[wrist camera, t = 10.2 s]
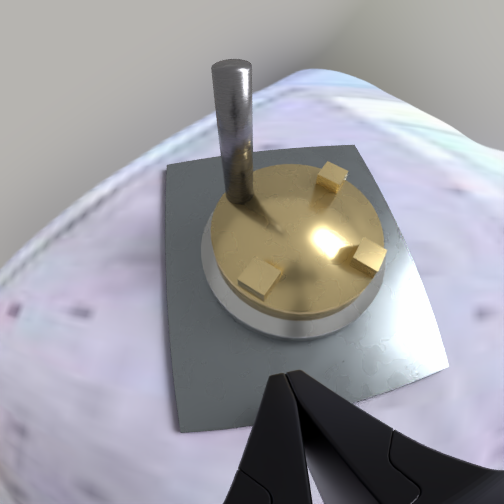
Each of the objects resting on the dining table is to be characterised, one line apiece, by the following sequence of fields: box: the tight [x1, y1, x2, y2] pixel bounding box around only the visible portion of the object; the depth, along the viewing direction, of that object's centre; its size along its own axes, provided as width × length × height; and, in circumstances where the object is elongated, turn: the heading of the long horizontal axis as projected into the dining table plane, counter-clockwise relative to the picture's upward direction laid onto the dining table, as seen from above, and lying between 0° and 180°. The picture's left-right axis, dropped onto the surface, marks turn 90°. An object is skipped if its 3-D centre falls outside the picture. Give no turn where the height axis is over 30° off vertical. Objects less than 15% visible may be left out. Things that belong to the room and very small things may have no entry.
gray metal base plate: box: [165, 145, 449, 433], centre depth 22 cm, size 24×20×2 cm
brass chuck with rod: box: [211, 59, 387, 321], centre depth 16 cm, size 12×12×12 cm
